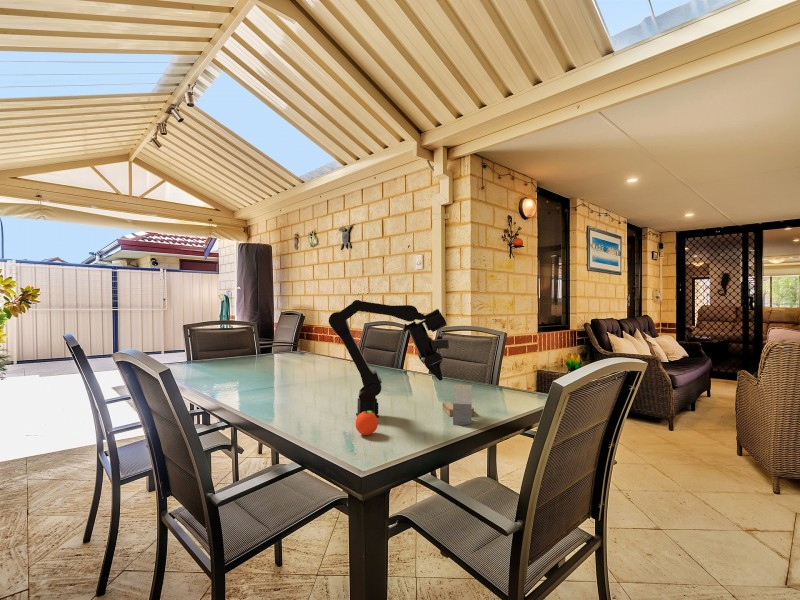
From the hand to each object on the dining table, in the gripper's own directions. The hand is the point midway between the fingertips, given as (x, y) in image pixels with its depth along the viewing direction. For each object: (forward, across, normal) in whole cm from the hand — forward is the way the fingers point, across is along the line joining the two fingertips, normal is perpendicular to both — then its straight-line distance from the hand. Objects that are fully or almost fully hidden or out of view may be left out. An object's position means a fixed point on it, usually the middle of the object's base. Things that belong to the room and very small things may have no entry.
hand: (439, 377), depth 139 cm
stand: (+15, +3, -1) cm, 16 cm away
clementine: (+2, -18, +28) cm, 34 cm away
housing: (+15, -8, 0) cm, 17 cm away
